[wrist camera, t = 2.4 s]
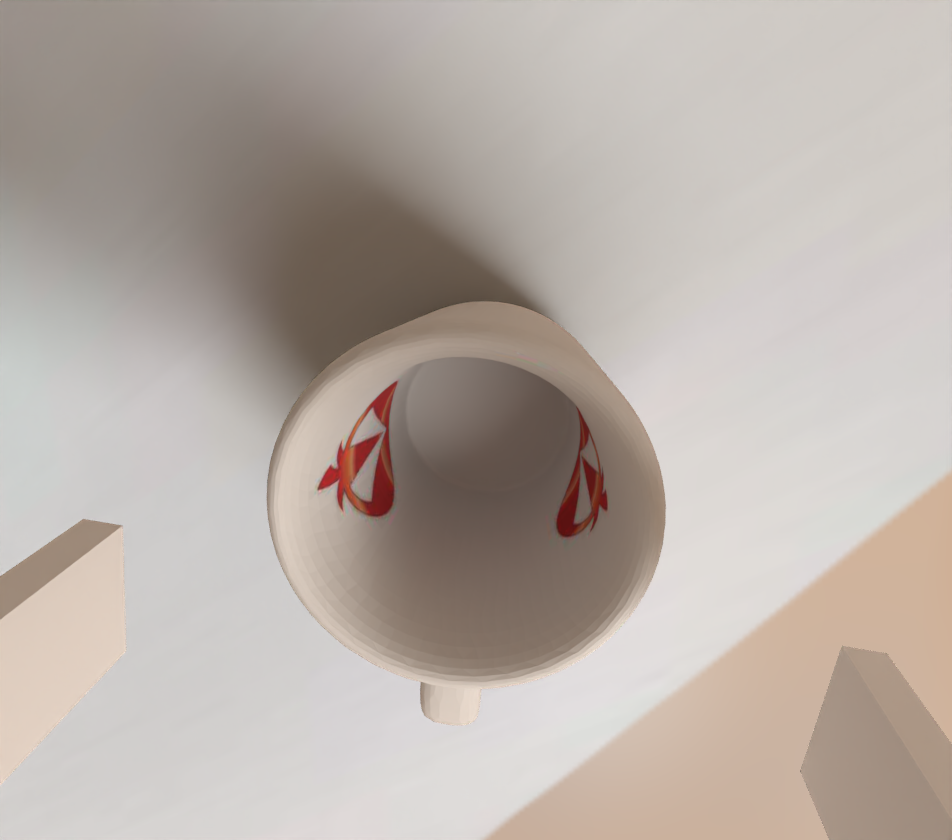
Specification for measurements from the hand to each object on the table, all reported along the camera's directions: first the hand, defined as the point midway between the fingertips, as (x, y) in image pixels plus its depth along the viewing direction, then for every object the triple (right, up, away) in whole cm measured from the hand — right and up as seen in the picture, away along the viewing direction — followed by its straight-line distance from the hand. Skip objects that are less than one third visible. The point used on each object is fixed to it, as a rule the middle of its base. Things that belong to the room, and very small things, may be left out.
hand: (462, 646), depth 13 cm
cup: (+1, +3, +9) cm, 10 cm away
